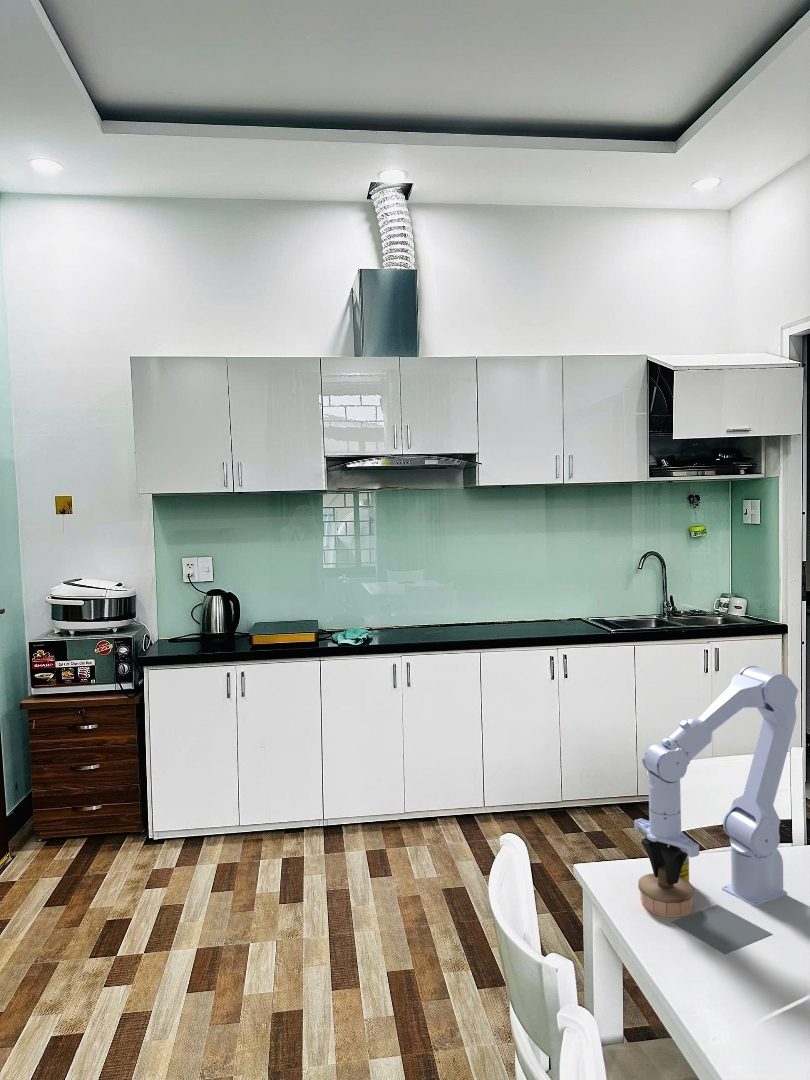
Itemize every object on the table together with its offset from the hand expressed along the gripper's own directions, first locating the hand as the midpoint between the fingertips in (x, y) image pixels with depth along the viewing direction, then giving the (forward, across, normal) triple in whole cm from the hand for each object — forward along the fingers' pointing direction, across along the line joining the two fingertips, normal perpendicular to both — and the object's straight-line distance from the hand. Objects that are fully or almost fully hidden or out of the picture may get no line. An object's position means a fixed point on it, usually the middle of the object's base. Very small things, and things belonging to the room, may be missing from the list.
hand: (666, 879), depth 151 cm
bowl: (+5, 0, 0) cm, 5 cm away
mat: (+5, +11, +2) cm, 12 cm away
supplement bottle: (+5, -5, +8) cm, 11 cm away
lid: (+2, 0, 0) cm, 2 cm away
